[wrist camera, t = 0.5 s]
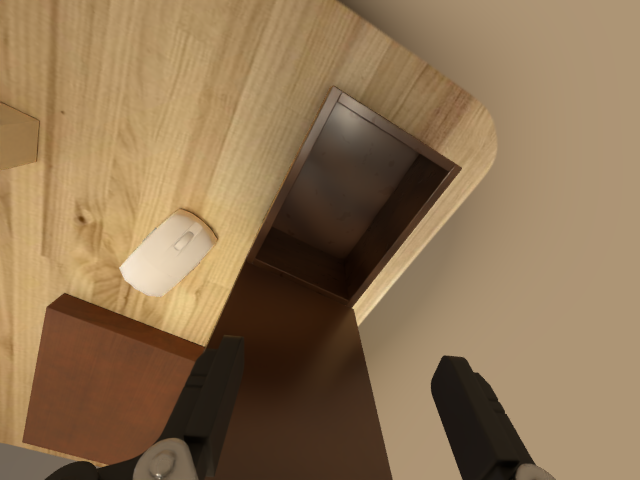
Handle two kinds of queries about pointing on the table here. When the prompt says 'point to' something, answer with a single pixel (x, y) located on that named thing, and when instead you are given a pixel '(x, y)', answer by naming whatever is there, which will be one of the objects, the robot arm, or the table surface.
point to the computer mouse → (168, 254)
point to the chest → (348, 200)
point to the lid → (297, 387)
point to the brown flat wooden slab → (103, 382)
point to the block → (17, 138)
